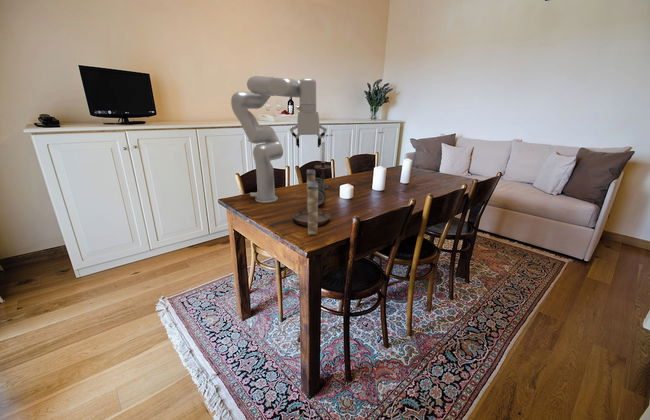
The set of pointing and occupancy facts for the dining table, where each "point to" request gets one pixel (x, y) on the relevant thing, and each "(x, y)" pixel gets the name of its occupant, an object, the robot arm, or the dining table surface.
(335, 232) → the dining table surface
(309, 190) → the post front
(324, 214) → the plant saucer
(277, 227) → the dining table surface
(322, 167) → the candlestick
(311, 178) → the post back
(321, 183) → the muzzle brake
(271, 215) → the dining table surface
